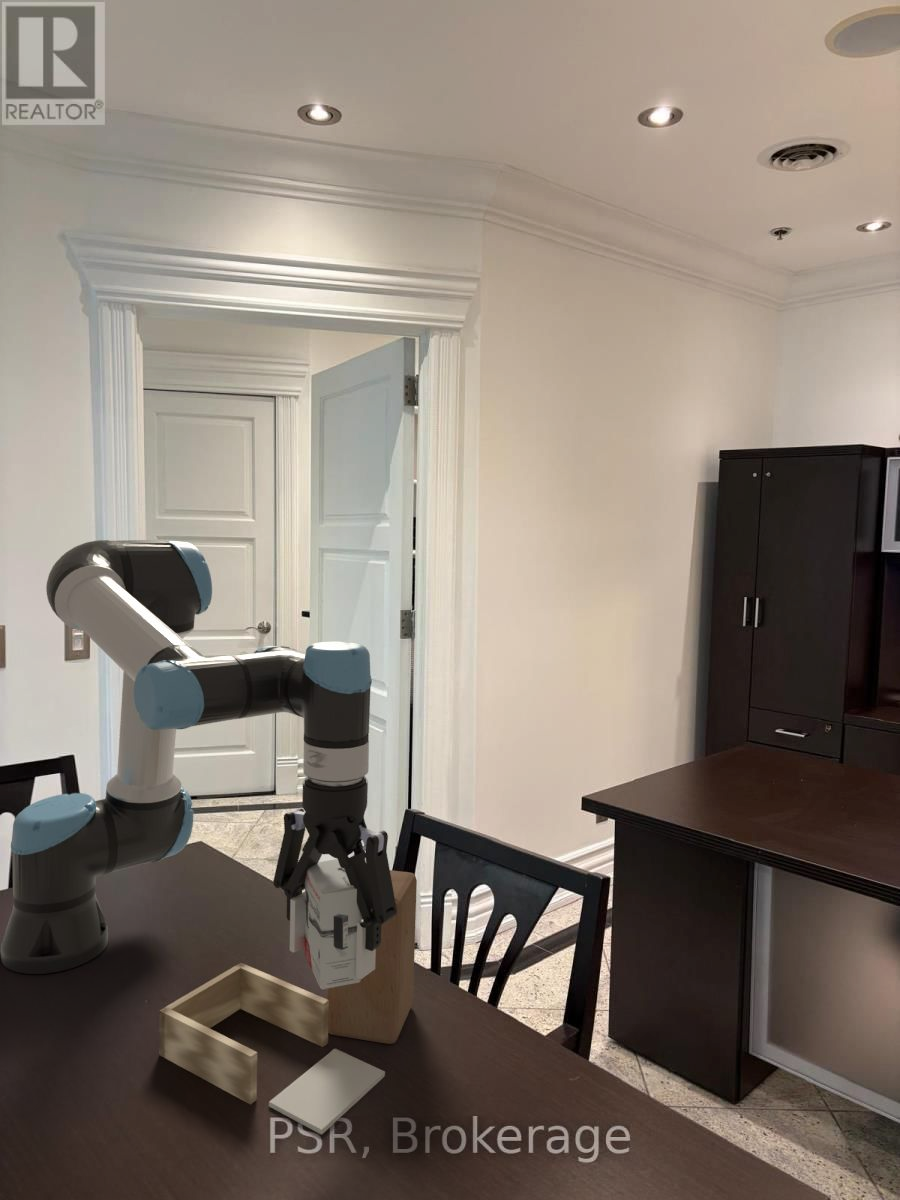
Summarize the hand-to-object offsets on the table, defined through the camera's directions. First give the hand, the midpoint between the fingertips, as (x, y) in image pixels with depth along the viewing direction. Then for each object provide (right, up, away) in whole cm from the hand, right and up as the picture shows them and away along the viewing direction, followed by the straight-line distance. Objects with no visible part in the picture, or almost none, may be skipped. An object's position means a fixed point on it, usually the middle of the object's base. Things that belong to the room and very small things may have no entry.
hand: (331, 959), depth 100 cm
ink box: (0, -1, 0) cm, 1 cm away
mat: (-1, -17, +2) cm, 17 cm away
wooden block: (+3, -15, +16) cm, 23 cm away
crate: (-13, -15, +9) cm, 22 cm away
